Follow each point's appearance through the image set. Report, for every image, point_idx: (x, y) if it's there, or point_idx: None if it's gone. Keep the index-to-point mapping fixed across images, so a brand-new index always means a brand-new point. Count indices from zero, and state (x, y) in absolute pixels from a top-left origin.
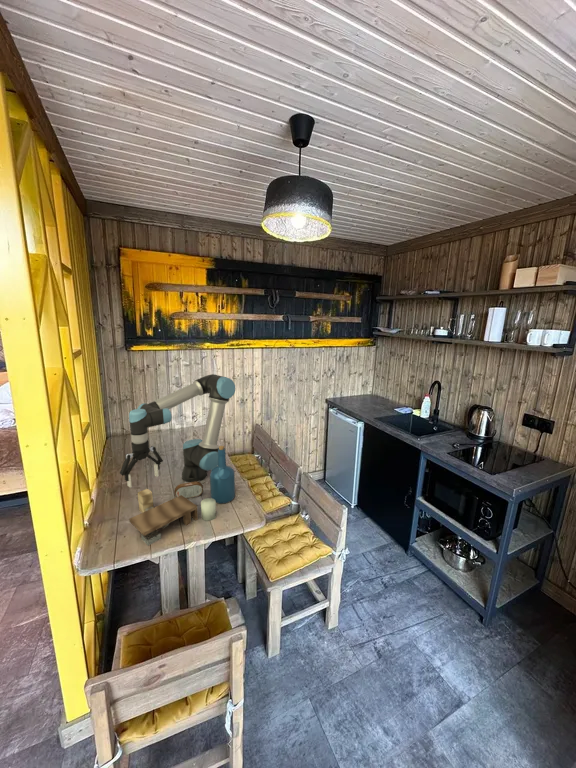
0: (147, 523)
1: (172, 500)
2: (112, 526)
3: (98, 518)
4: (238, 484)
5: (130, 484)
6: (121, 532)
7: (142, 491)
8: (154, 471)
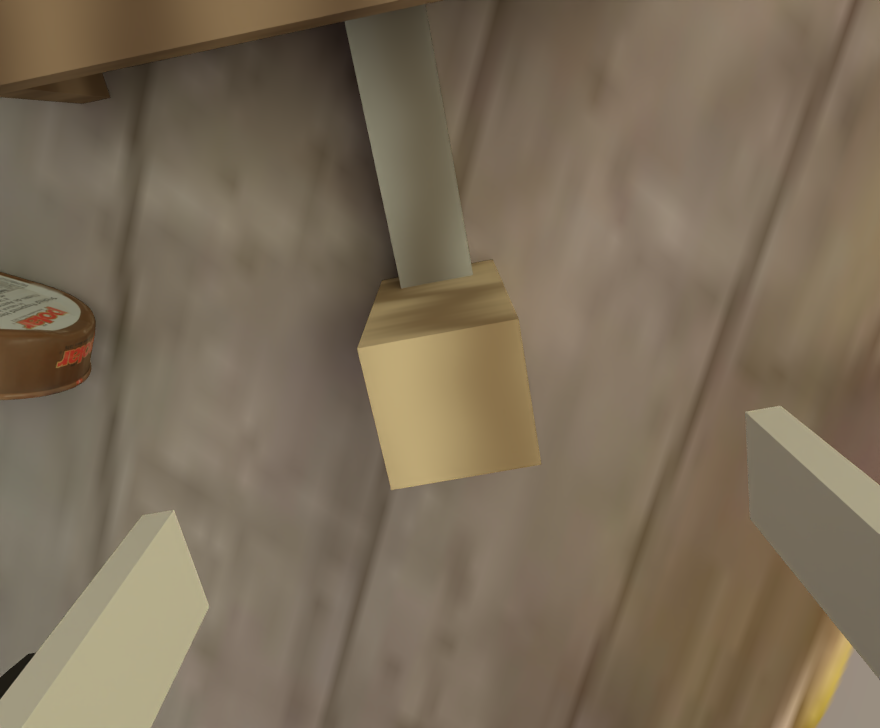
0: None
1: (121, 15)
2: (814, 238)
3: (860, 457)
4: None
5: (799, 440)
6: (787, 61)
7: (475, 450)
8: (173, 675)
